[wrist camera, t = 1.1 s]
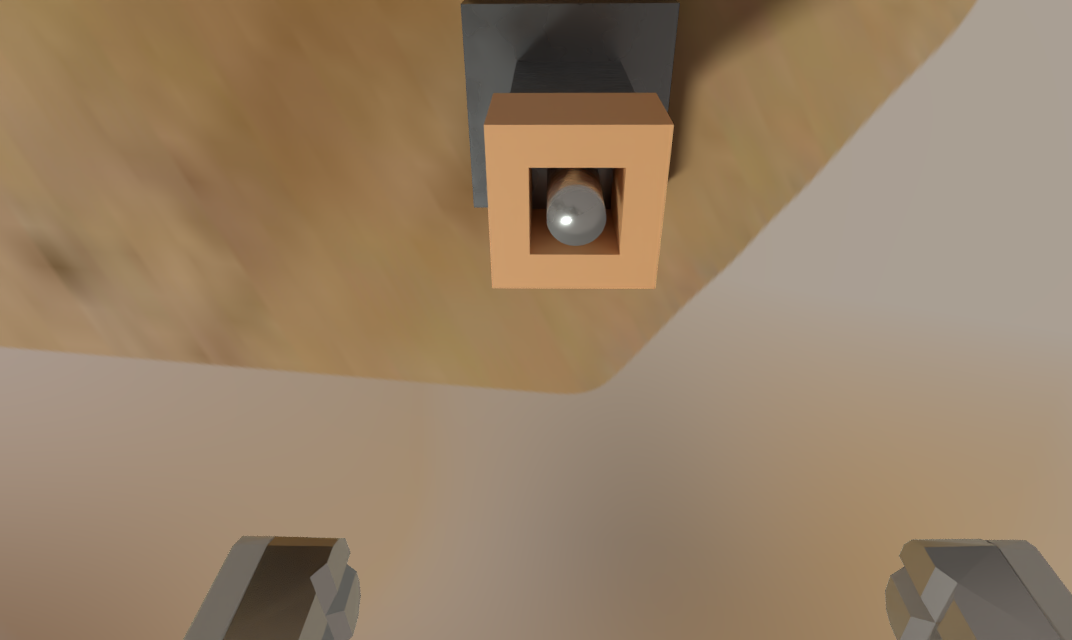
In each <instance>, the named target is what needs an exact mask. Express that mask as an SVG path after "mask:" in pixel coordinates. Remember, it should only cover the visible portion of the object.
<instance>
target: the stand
mask: <svg viewBox="0 0 1072 640" xmlns="http://www.w3.org/2000/svg"><path fill="white" fill-rule="evenodd" d="M679 5H680V3H679V2H678V1H676V0H464V1H463V2H462V3H461V15H462V31H463V46H464V61H465V76H466V92H467V107H468V122H469V138H470V153H471V168H472V184H473V199H474V207H488V197H487V178H486V158H485V139H484V122H485V119H486V116H487V112H488V109H489V106H490V102H491V99H492V95H493V93H657V95H658V97H659V99H660V101H661V102H662V104H663V106H664V108H665V109H666V111H667V113H668V107H669V97H670V88H671V79H672V70H673V60H674V51H675V42H676V33H677V23H678V14H679ZM612 178H613V168H532V209H547V226H548V229H549V231H550V233H551V234H552V235H553V236H554V238H556V239H557V240H558V241H560V242H561V243H564V244H566V245H571V246H580V245H585V244H588V243H590V242H592V241H594V240H595V239H596V238H597V237H598V236H599V235H600V234H601V233H602V231H603V229H604V227H605V224H606V211H605V209H611V194H612Z"/></svg>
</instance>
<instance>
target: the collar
mask: <svg viewBox="0 0 1072 640" xmlns="http://www.w3.org/2000/svg"><path fill="white" fill-rule="evenodd" d="M673 130H674V124H673V122H672V120H671V118H670V117H669V115H668V113H667V111H666V109H665V108H664V106H663V104H662V102H661V101H660V99H659V97H658V95H657V93H493V95H492V99H491V102H490V106H489V109H488V112H487V116H486V119H485V122H484V139H485V158H486V178H487V197H488V216H489V235H490V255H491V274H492V288H578V289H655V287H656V278H657V269H658V260H659V252H660V243H661V234H662V226H663V217H664V208H665V200H666V191H667V182H668V173H669V165H670V156H671V147H672V139H673ZM532 168H613V178H612V194H611V209H605V211H606V224H605V227H604V229H603V231H602V233H601V234H600V235H599V236H598V237H597V238H596V239H595V240H594V241H592V242H590V243H588V244H585V245H580V246H571V245H566V244H564V243H561V242H560V241H558V240H557V239H556V238H554V236H553V235H552V234H551V233H550V231H549V229H548V226H547V209H532Z"/></svg>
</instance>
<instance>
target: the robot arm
mask: <svg viewBox="0 0 1072 640" xmlns="http://www.w3.org/2000/svg"><path fill="white" fill-rule="evenodd" d="M349 555H350V550H349V547H348V545H347V542H346V539H345V538H311V537H278V536H242V537H241V538H240V539H239V540H238V541H237V542H236V543H235V544H234V545H233V546H232V548H231V550H230V552H229V554H228V556H227V558H226V559H225V561H224V563H223V565H222V567H221V569H220V571H219V573H218V575H217V576H216V578H215V580H214V582H213V584H212V586H211V588H210V590H209V592H208V593H207V595H206V597H205V599H204V601H203V603H202V605H201V607H200V609H199V611H198V613H197V615H196V616H195V618H194V620H193V622H192V624H191V626H190V628H189V629H188V631H187V633H186V635H185V637H184V639H183V640H349V639H350V638H351V637H352V636H353V633H354V629H355V626H356V622H357V618H358V613H359V604H360V596H361V595H360V583H359V578H358V575H357V572H356V571H355V570H354V569H353V568H351V567H350V566H348V565H347V561H348V558H349ZM899 556H900V558H901V560H902V562H903V564H904V567H903V568H901V569H900V570H898V571H897V572H895V573H894V574H892V575H891V576H890V579H889V582H888V584H887V587H886V590H885V594H886V610H887V614H888V618H889V621H890V625H891V627H892V629H893V632H894V634H895V636H896V639H897V640H1072V595H1071V593H1070V592H1069V590H1068V589H1067V588H1066V587H1065V585H1064V584H1063V582H1062V581H1061V580H1060V579H1059V577H1058V576H1057V574H1056V573H1055V572H1054V571H1053V569H1052V568H1051V567H1050V565H1049V564H1048V563H1047V561H1046V560H1045V559H1044V557H1043V556H1042V555H1041V553H1040V552H1039V551H1038V550H1037V548H1036V547H1035V546H1033V545H1032V544H1030V543H1029V542H1027V541H1025V540H982V539H936V540H934V539H933V540H932V539H931V540H911V541H909V542H907V543H906V544H904V546H903V549H902V551H901V553H900V555H899Z"/></svg>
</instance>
